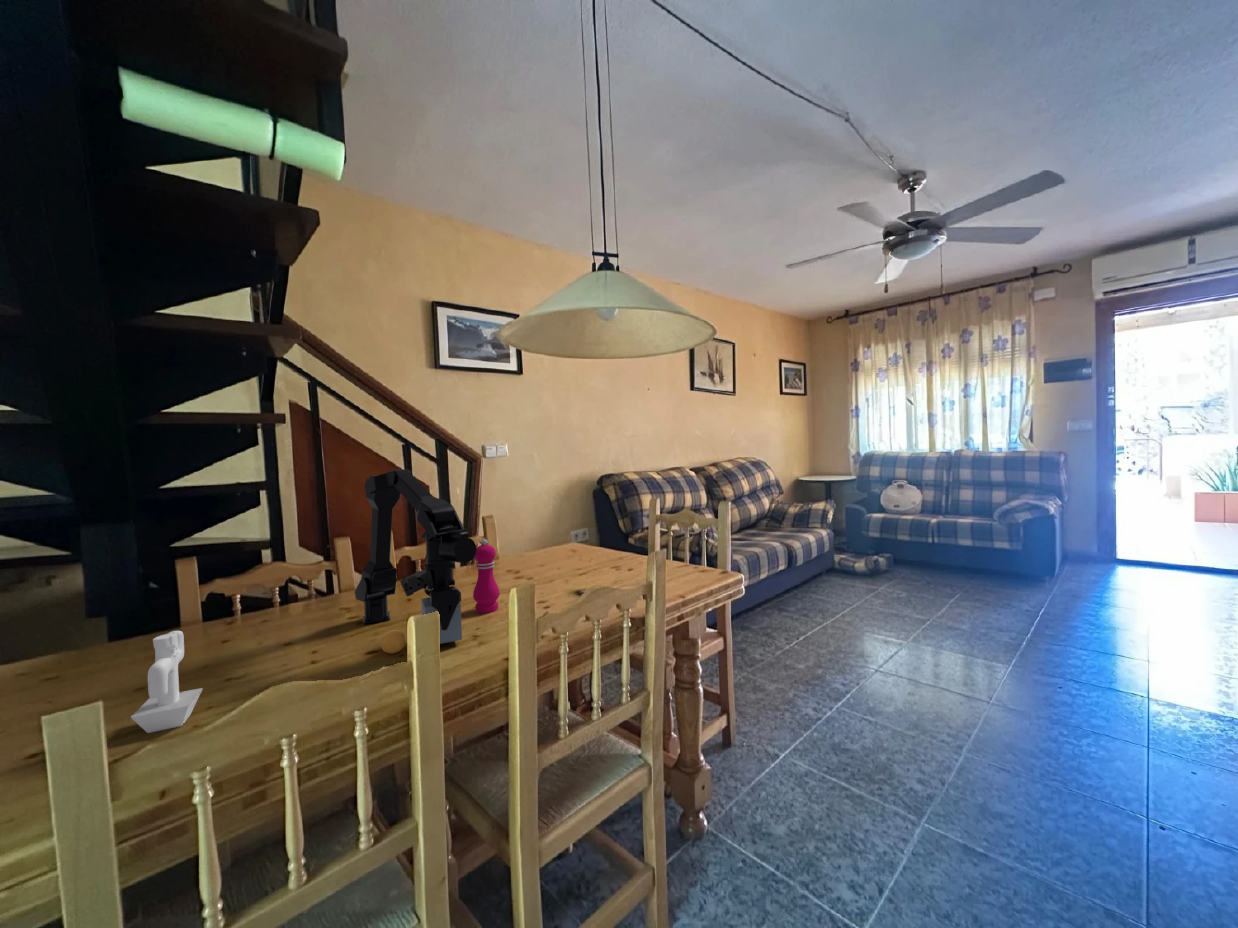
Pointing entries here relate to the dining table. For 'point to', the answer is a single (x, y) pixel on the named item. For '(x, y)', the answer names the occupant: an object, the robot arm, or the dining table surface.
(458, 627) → the slate grey cube
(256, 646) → the dining table surface
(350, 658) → the dining table surface
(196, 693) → the figurine
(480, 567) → the pepper mill
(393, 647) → the ball
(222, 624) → the dining table surface
